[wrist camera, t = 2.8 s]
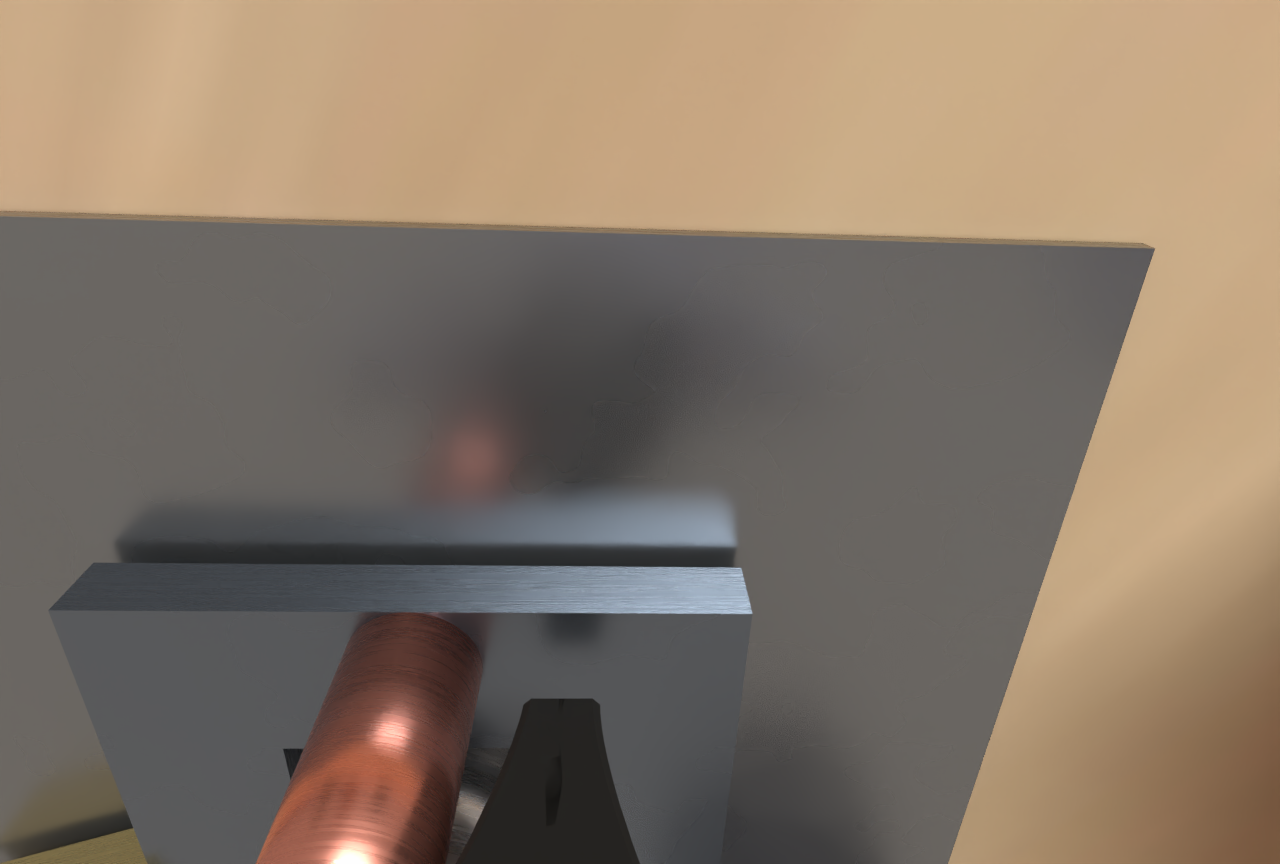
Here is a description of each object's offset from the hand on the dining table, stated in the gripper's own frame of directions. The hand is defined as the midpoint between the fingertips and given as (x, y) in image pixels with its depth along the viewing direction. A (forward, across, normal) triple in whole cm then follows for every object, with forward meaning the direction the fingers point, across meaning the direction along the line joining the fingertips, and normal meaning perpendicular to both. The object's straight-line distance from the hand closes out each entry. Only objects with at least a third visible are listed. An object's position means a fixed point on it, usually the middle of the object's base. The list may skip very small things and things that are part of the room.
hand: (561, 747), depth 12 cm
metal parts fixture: (+3, +5, +4) cm, 7 cm away
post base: (+3, +2, +4) cm, 6 cm away
